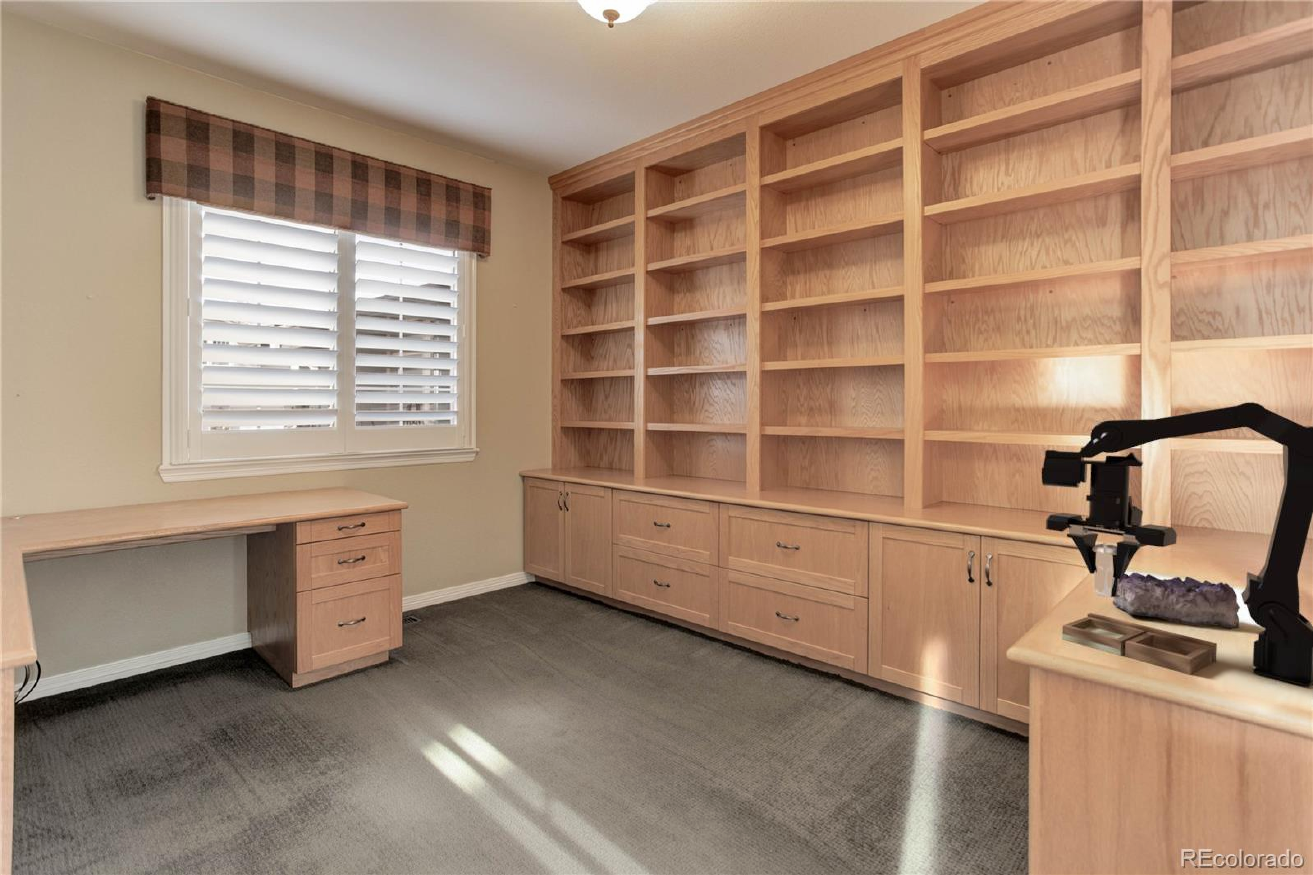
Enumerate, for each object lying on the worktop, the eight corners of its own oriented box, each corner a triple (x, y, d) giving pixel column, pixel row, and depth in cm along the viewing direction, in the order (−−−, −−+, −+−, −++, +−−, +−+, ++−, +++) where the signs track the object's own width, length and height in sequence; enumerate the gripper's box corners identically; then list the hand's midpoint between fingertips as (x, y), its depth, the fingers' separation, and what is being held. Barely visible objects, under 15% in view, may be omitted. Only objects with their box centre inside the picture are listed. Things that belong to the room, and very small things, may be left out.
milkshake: (1087, 595, 116) (1089, 540, 115) (1094, 589, 120) (1096, 536, 119) (1117, 601, 113) (1120, 544, 112) (1123, 594, 116) (1126, 540, 116)
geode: (1229, 617, 131) (1235, 571, 129) (1245, 642, 121) (1252, 592, 119) (1108, 599, 141) (1112, 555, 139) (1114, 621, 131) (1118, 574, 129)
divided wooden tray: (1216, 661, 108) (1216, 643, 108) (1190, 675, 102) (1190, 656, 102) (1090, 628, 124) (1090, 612, 124) (1061, 638, 118) (1062, 622, 118)
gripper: (1191, 493, 112) (1187, 581, 112) (1075, 482, 127) (1072, 560, 128) (1164, 497, 106) (1160, 591, 107) (1045, 485, 122) (1043, 567, 122)
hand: (1105, 576), depth 116 cm, fingers closed on milkshake, 4 cm apart
